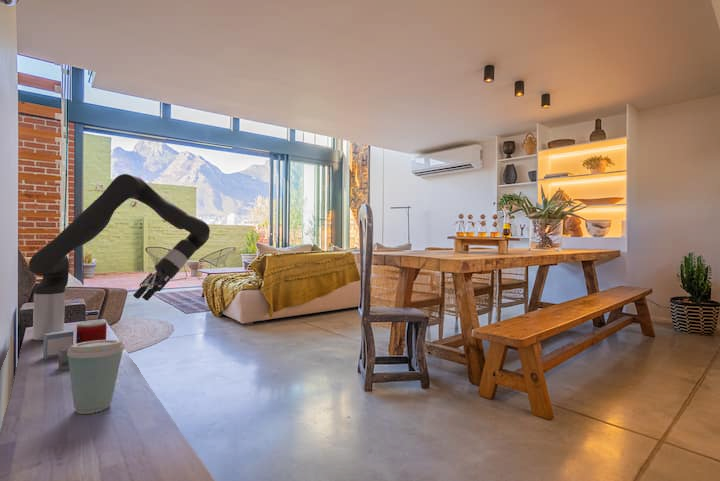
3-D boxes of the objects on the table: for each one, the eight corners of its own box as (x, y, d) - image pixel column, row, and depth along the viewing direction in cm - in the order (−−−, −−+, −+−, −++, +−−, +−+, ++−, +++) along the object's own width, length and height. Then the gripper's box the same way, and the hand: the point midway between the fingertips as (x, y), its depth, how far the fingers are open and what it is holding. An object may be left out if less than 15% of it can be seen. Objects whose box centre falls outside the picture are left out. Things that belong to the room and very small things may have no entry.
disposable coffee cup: (65, 405, 85) (67, 339, 85) (121, 394, 92) (122, 333, 92) (64, 423, 77) (66, 350, 77) (125, 410, 83) (127, 342, 83)
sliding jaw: (38, 353, 123) (38, 330, 124) (64, 349, 129) (64, 327, 129) (46, 359, 118) (46, 335, 118) (73, 354, 123) (73, 331, 123)
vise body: (55, 368, 110) (55, 349, 110) (88, 361, 117) (89, 343, 117) (61, 372, 106) (61, 353, 106) (95, 365, 113) (96, 347, 113)
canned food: (111, 353, 125) (112, 320, 125) (92, 360, 117) (92, 325, 118) (90, 352, 126) (91, 319, 126) (69, 359, 118) (70, 324, 118)
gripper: (156, 257, 144) (124, 290, 136) (172, 257, 135) (138, 293, 126) (170, 269, 148) (140, 303, 140) (187, 270, 139) (156, 306, 130)
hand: (139, 298), depth 133 cm, fingers open, 8 cm apart
